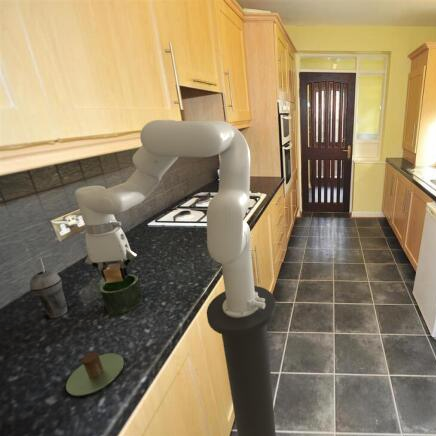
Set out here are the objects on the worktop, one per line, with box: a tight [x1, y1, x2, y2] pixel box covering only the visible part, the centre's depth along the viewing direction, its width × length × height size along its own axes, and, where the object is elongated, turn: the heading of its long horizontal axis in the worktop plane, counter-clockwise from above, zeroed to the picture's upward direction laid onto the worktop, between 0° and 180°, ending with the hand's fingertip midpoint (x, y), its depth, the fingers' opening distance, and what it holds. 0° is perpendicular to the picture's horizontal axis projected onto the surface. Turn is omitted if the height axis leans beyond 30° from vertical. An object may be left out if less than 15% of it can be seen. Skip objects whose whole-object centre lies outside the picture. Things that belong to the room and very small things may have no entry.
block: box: [103, 262, 123, 283], centre depth 87 cm, size 4×4×4 cm
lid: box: [65, 351, 125, 397], centre depth 65 cm, size 11×11×6 cm
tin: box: [99, 273, 144, 315], centre depth 90 cm, size 10×10×8 cm
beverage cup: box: [29, 257, 68, 319], centre depth 84 cm, size 7×7×20 cm
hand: (117, 277), depth 88 cm, fingers closed on block, 4 cm apart
